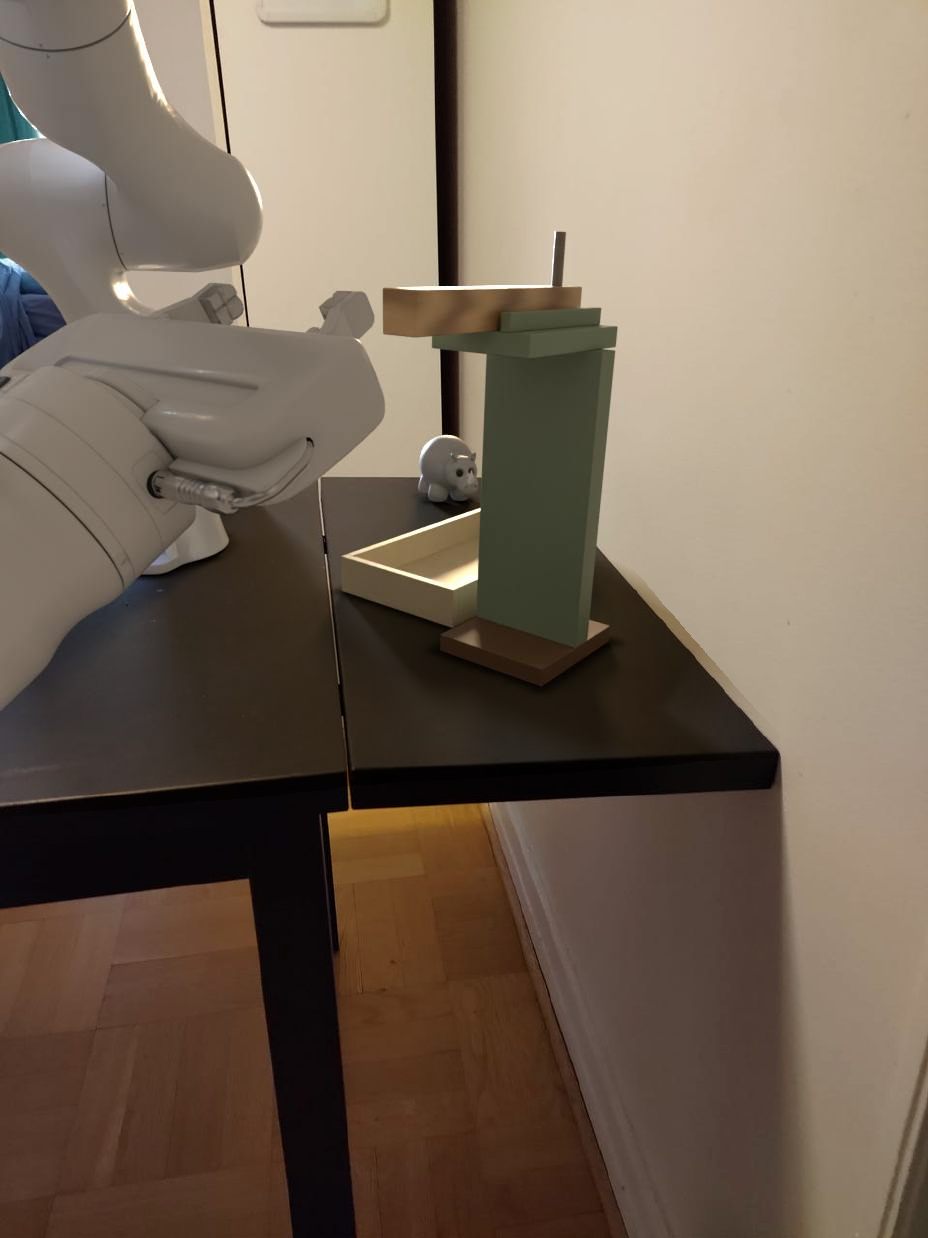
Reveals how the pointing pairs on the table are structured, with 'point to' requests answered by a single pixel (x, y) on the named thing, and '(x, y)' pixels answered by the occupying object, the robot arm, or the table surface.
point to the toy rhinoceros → (447, 469)
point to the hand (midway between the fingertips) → (291, 299)
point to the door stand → (538, 490)
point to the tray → (421, 571)
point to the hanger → (473, 303)
